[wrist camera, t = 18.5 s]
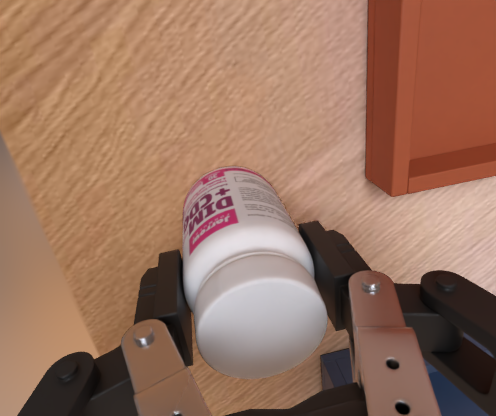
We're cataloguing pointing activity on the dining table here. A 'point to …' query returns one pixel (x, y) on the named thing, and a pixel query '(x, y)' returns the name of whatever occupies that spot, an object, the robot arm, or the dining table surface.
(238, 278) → the pill bottle
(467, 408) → the blue block
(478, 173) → the terracotta tray
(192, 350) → the robot arm
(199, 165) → the dining table surface
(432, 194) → the dining table surface
